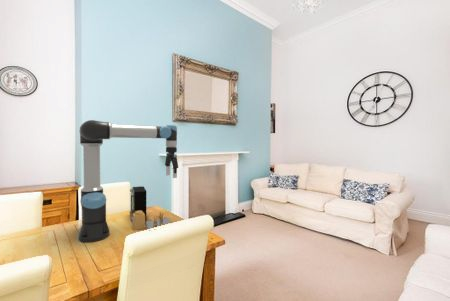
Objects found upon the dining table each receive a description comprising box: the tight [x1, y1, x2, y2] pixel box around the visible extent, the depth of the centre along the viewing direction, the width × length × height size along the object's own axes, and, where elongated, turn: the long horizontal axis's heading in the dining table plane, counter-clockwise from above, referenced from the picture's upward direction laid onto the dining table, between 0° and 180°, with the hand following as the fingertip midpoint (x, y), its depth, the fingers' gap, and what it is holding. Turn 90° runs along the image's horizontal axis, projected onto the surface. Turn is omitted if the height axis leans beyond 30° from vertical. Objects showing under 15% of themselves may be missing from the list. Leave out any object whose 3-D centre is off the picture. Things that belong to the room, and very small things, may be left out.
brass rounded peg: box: [159, 212, 164, 221], centre depth 153 cm, size 2×2×5 cm
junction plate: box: [145, 217, 174, 230], centre depth 149 cm, size 16×14×1 cm
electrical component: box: [129, 186, 147, 222], centre depth 160 cm, size 18×10×20 cm, turn 25°
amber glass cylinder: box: [153, 216, 158, 226], centre depth 144 cm, size 2×2×5 cm
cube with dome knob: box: [132, 210, 146, 231], centre depth 143 cm, size 6×6×10 cm
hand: (171, 176), depth 166 cm, fingers open, 13 cm apart
